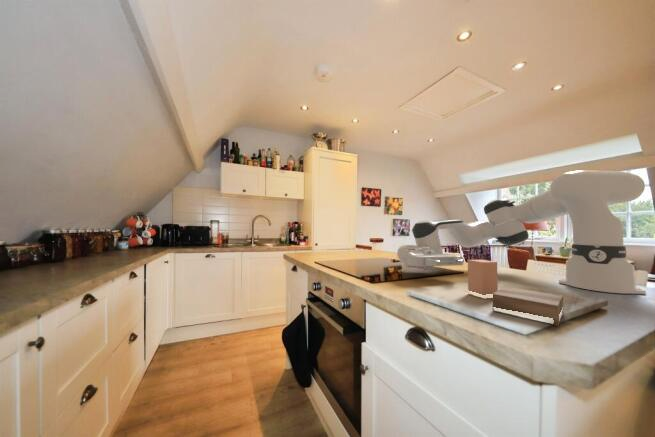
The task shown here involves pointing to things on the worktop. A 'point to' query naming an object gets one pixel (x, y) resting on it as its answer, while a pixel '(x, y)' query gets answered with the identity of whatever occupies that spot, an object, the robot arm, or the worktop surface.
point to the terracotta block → (482, 276)
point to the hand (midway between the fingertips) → (449, 263)
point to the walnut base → (529, 302)
